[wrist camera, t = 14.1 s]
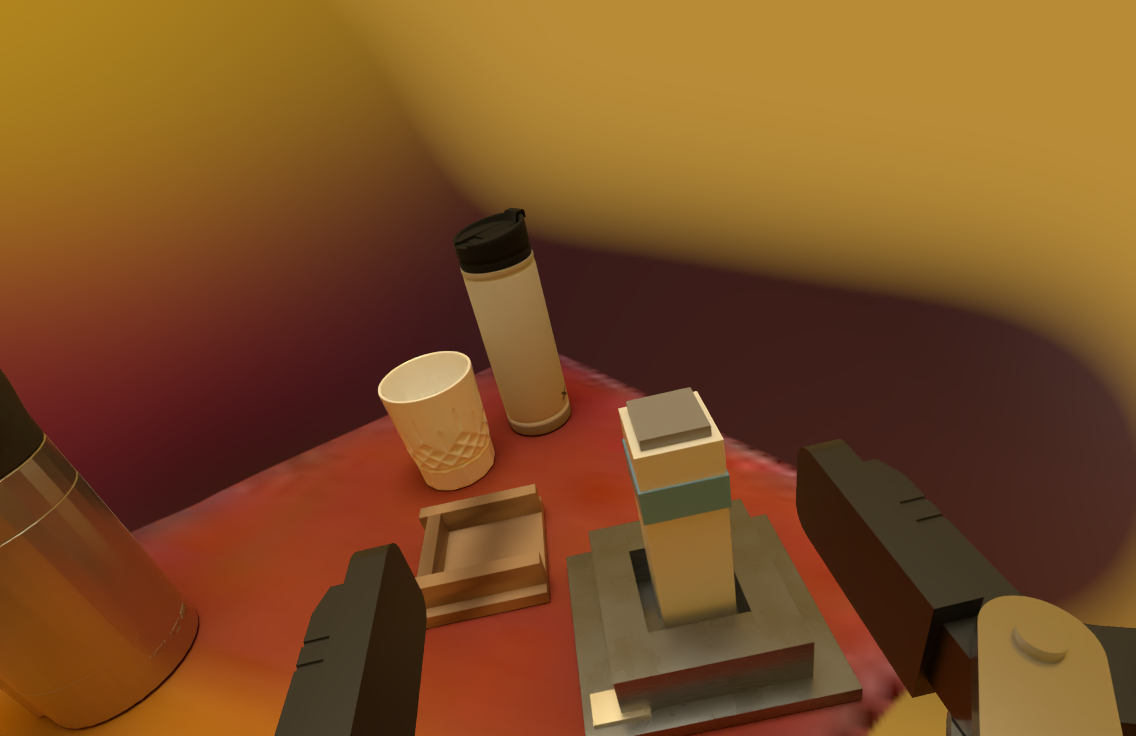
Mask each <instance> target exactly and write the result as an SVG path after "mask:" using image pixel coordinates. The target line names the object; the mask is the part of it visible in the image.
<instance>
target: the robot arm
mask: <svg viewBox="0 0 1136 736" xmlns="http://www.w3.org/2000/svg"><path fill="white" fill-rule="evenodd" d="M796 507H797V513H798V516H799V520H800V522H801V525H802V527H803V529H804V531H805V533H806V535H807V537H808V538H809V540H810V541H811V543H812V544H813V546H814V547H815V549H816V550H817V552H818V554H819V555H820V557H821V558H822V560H823V561H824V563H825V564H826V566H827V567H828V569H829V570H830V572H831V573H832V575H833V577H834V578H835V580H836V581H837V583H838V584H839V586H840V587H841V589H842V590H843V592H844V593H845V595H846V597H847V598H848V600H849V601H850V603H851V604H852V606H853V607H854V609H855V610H856V612H857V613H858V615H859V617H860V618H861V620H862V621H863V623H864V624H865V626H866V627H867V629H868V630H869V632H870V633H871V635H872V637H873V638H874V640H875V641H876V643H877V644H878V646H879V647H880V649H881V650H882V652H883V653H884V655H885V657H886V658H887V660H888V661H889V663H890V664H891V666H892V667H893V669H894V670H895V672H896V673H897V675H898V676H899V678H900V680H901V681H902V683H903V684H904V686H905V687H906V689H907V690H908V692H909V693H910V695H911V696H912V698H913V697H918V696H922V695H926V694H930V693H935V692H936V693H937V695H938V696H939V698H940V699H941V701H942V702H943V703H944V705H945V706H946V708H947V709H948V713H947V722H946V725H947V727H946V736H1136V628H1124V627H1110V626H1098V625H1090V624H1084V623H1081V622H1080V621H1079V620H1078V619H1076V618H1075V617H1073V616H1072V615H1071V614H1069V613H1067V612H1066V611H1064V610H1062V609H1060V608H1058V607H1056V606H1054V605H1052V604H1049V603H1047V602H1044V601H1041V600H1038V599H1035V598H1030V597H1024V596H1023V595H1022V594H1020V593H1019V592H1018V591H1017V590H1016V589H1015V588H1014V587H1013V586H1012V585H1011V584H1010V583H1009V582H1008V581H1007V580H1006V579H1005V578H1004V577H1003V576H1002V575H1001V574H1000V573H999V572H998V571H997V570H996V569H995V568H994V567H993V566H992V565H991V564H990V563H989V562H988V561H987V560H986V559H985V558H984V556H982V554H981V553H980V552H979V551H978V550H977V549H976V548H975V547H974V546H973V545H972V544H971V543H970V542H969V541H968V540H967V539H966V538H965V537H964V536H963V535H962V534H961V533H960V532H959V531H958V530H957V529H956V528H955V527H954V526H953V525H952V523H951V522H950V521H949V520H948V519H947V518H945V519H944V518H943V516H942V513H941V512H940V511H939V510H938V509H937V508H936V507H935V506H934V505H933V504H932V503H931V502H930V501H929V500H928V501H927V500H926V499H925V496H924V495H923V494H922V493H921V491H920V490H918V488H917V487H916V486H915V485H914V484H913V483H912V482H911V481H910V480H909V479H908V478H907V477H906V476H905V475H904V474H902V473H900V472H898V471H896V470H895V469H893V468H891V467H889V466H888V465H886V464H884V463H882V462H880V461H879V460H877V459H874V460H870V461H866V462H863V461H862V460H861V459H860V458H859V457H858V456H857V455H856V454H855V453H854V451H853V450H852V449H851V448H850V447H849V446H848V445H847V444H846V443H845V442H844V441H842V440H840V439H837V440H833V441H828V442H824V443H820V444H816V445H812V446H808V447H803V448H800V449H799V451H798V456H797V488H796ZM426 624H427V613H426V605H425V600H424V596H423V593H422V591H421V589H420V587H419V585H418V583H417V581H416V579H415V577H414V575H413V573H412V571H411V569H410V568H409V566H408V564H407V562H406V560H405V558H404V556H403V554H402V552H401V550H400V549H399V547H398V546H397V545H396V544H394V543H392V544H388V545H383V546H379V547H375V548H371V549H366V550H362V551H358V552H355V553H354V554H353V555H352V557H351V559H350V563H349V566H348V570H347V574H346V578H345V581H344V584H340V585H336V586H332V587H330V588H329V590H328V591H327V593H326V594H325V596H324V597H323V598H322V600H321V601H320V603H319V604H318V606H317V607H316V609H315V610H314V612H313V613H312V616H311V619H310V622H309V626H308V629H307V632H306V635H305V638H304V647H302V648H301V651H300V655H299V658H298V661H297V664H296V666H297V671H295V672H294V674H293V677H292V680H291V684H290V687H289V690H288V693H287V697H286V700H285V703H284V706H283V710H282V713H281V716H280V719H279V722H278V726H277V729H276V732H275V735H274V736H415V728H416V719H417V709H418V700H419V690H420V681H421V672H422V662H423V653H424V643H425V634H426ZM197 627H198V615H197V613H196V611H195V609H194V608H193V607H192V605H191V604H190V603H189V602H188V601H187V599H186V598H185V597H184V596H183V595H182V594H181V592H180V591H179V590H178V589H177V588H176V587H175V585H174V584H173V583H172V582H171V581H170V580H169V578H168V577H167V576H166V574H165V573H164V572H163V571H162V570H161V569H160V567H159V566H158V565H157V564H156V563H155V562H154V560H153V559H152V558H151V557H150V556H149V555H148V553H147V552H146V551H145V550H144V549H143V548H142V546H141V545H140V544H139V543H138V542H137V541H136V539H135V538H134V537H133V536H132V535H131V534H130V532H129V531H128V530H127V529H126V528H125V527H124V525H123V524H122V523H121V522H120V521H119V520H118V518H117V517H116V516H115V515H114V514H113V513H112V511H110V509H109V508H108V507H107V506H106V504H105V503H104V502H103V501H102V500H101V499H100V497H99V496H98V495H97V494H96V493H95V492H94V491H93V489H92V488H91V487H90V486H89V485H88V484H87V482H86V481H85V480H84V479H83V478H82V476H81V475H80V474H79V473H78V472H77V471H76V470H75V469H74V467H73V466H72V465H71V464H70V463H69V462H68V460H66V458H65V457H64V456H63V455H62V453H61V452H60V451H59V450H58V449H57V448H56V446H55V445H54V444H53V443H52V442H51V441H50V439H49V438H48V437H47V436H46V435H45V434H44V433H43V431H42V430H41V428H40V427H39V426H38V425H37V424H36V422H35V421H34V420H33V419H32V418H31V416H30V415H29V414H28V412H27V411H26V409H25V407H24V406H23V404H22V402H21V401H20V399H19V397H18V395H17V394H16V392H15V390H14V388H13V387H12V385H11V383H10V382H9V380H8V379H7V377H6V376H5V375H4V373H3V372H2V370H1V369H0V688H1V689H2V690H3V691H5V692H6V693H7V694H8V695H10V696H11V697H12V698H14V699H15V700H16V701H17V702H19V703H20V704H21V705H22V706H24V707H25V708H26V709H28V710H29V711H30V712H31V713H33V714H34V715H35V716H36V717H40V716H44V715H46V716H47V717H49V718H50V719H51V720H52V721H54V722H55V723H56V724H58V725H60V726H62V727H64V728H74V729H78V728H83V727H88V726H93V725H95V724H98V723H101V722H103V721H106V720H108V719H110V718H112V717H114V716H116V715H118V714H120V713H121V712H123V711H125V710H127V709H128V708H130V707H131V706H133V705H134V704H136V703H137V702H138V701H140V700H141V699H143V698H144V697H145V696H146V695H148V694H149V693H150V692H151V691H152V690H154V689H155V688H156V687H157V686H158V685H159V684H160V683H161V682H162V681H163V680H164V679H165V678H166V677H167V676H168V675H169V674H170V673H171V672H172V671H173V670H174V669H175V667H176V666H177V665H178V664H179V663H180V661H181V660H182V659H183V657H184V656H185V654H186V653H187V651H188V649H189V648H190V646H191V644H192V642H193V640H194V637H195V635H196V632H197Z"/></svg>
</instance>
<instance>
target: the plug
mask: <svg viewBox="0 0 1136 736" xmlns="http://www.w3.org/2000/svg"><path fill="white" fill-rule="evenodd" d="M626 405H627V407H624V408H619V415H620V420H621V425H622V430H623V436H624V439H622V441H623V446H624V452H625V457H626V462H627V467H628V471H629V475H630V478H631V482H632V485H633V489H634V493H635V499H636V504H637V509H638V514H639V520H640V525H641V530H642V535H643V541H644V546H645V551H646V556H647V562H648V567H649V572H650V577H651V583H652V588H653V592H654V596H655V599H656V603H657V607H658V611H659V615H660V618H661V622H662V626H663V630H665V629H670V628H674V627H679V626H684V625H689V624H693V623H698V622H703V621H708V620H712V619H717V618H722V617H727V616H731V615H736V614H737V608H736V595H735V581H734V568H733V555H732V542H731V529H730V516H729V507H732V506H731V492H730V478H729V474H728V472H727V470H726V463H725V450H724V439H723V437H722V436H721V434H720V432H719V430H718V428H717V427H716V425H715V423H714V421H713V419H712V418H711V416H710V414H709V412H708V410H707V409H706V407H705V405H704V404H703V402H702V400H701V398H700V396H699V394H698V392H692V390H691V388H690V387H689V388H685V389H680V390H676V391H671V392H667V393H662V394H658V395H653V396H649V397H644V398H639V399H635V400H630V401H626Z"/></svg>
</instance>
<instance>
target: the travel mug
mask: <svg viewBox="0 0 1136 736" xmlns="http://www.w3.org/2000/svg"><path fill="white" fill-rule="evenodd" d="M524 217H525V212H524V210H523V209H516V208H509V209H507V210H505V211H504V213H499V214H495V215H491V216H488V217H485V218H483V219H481V220H478V221H476V222H474V223H472V224H470V225H468V226H467V227H465V228H464V229H462V230H461V231H460V232H458V233H457V235H456V236H455V237H454V239H453V243H454V247H455V250H456V254H457V257H458V259H459V263H460V266H461V272H462V275H463V276H464V281H465V285H466V288H467V291H468V294H469V297H470V300H471V304H472V306H473V310H474V313H475V316H476V319H477V322H478V326H479V329H480V332H481V335H482V338H483V341H484V344H485V348H486V351H487V354H488V357H489V360H490V363H491V367H492V370H493V373H494V376H495V379H496V382H497V386H498V389H499V392H500V395H501V398H502V401H503V405H504V408H505V411H506V413H507V417H508V420H509V423H510V426H511V428H512V429H513V430H514V431H516V432H517V433H519V434H523V435H530V436H532V435H541V434H545V433H548V432H551V431H553V430H555V429H557V428H559V427H560V426H561V425H563V424H564V423H565V422H566V421H567V419H568V418H569V416H570V413H571V407H570V403H569V399H568V396H567V390H566V386H565V382H564V378H563V374H562V370H561V366H560V362H559V357H558V353H557V349H556V345H555V341H554V337H553V333H552V329H551V325H550V320H549V316H548V312H547V308H546V304H545V300H544V296H543V292H542V287H541V283H540V279H539V275H538V271H537V267H536V263H535V260H534V258H533V251H532V249H531V245H530V243H529V238H528V233H527V229H526V225H525V221H524Z"/></svg>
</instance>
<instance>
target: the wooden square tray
mask: <svg viewBox="0 0 1136 736" xmlns="http://www.w3.org/2000/svg"><path fill="white" fill-rule="evenodd" d="M419 519H420V522H421V524H422V526H423V528H424V530H425V535H424V541H423V547H422V552H421V558H420V563H419V569H418V574H417V577H416V578H415V579H416V581H417V583H418V585H419V587H420V589H421V591H422V593H423V596H424V600H425V605H426V613H427V624H426V628H430V627H435V626H440V625H444V624H449V623H454V622H458V621H463V620H468V619H473V618H477V617H482V616H487V615H491V614H496V613H501V612H505V611H510V610H515V609H520V608H524V607H529V606H534V605H538V604H543V603H548V602H550V591H549V577H548V563H547V549H546V535H545V521H544V507H543V503H542V499H541V497H539V495H538V491H537V488H536V485H535V484H532V485H528V486H523V487H518V488H514V489H509V490H505V491H500V492H496V493H491V494H486V495H482V496H477V497H473V498H468V499H463V500H459V501H454V502H450V503H445V504H440V505H436V506H431V507H427V508H422V509H421V510H420V515H419Z"/></svg>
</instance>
